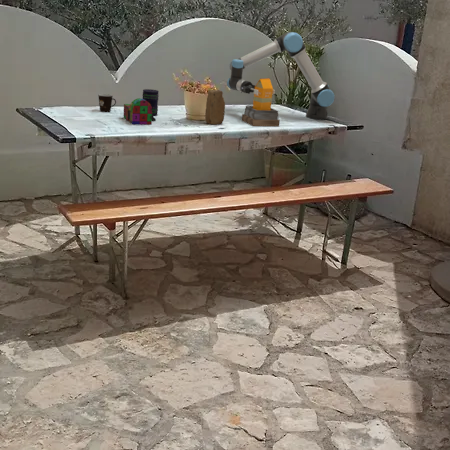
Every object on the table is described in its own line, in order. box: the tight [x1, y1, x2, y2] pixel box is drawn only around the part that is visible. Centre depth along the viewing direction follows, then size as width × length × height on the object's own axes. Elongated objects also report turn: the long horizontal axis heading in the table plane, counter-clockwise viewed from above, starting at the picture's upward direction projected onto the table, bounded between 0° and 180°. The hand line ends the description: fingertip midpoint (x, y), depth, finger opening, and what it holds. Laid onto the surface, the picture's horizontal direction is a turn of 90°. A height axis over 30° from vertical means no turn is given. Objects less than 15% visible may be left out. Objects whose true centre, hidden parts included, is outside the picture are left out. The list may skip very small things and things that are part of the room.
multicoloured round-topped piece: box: [123, 97, 156, 126], centre depth 353 cm, size 25×17×14 cm
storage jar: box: [142, 88, 160, 117], centre depth 371 cm, size 10×10×15 cm
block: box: [204, 89, 226, 125], centre depth 362 cm, size 11×8×20 cm
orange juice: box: [252, 77, 274, 111], centre depth 373 cm, size 8×9×20 cm
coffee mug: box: [98, 93, 117, 113], centre depth 368 cm, size 12×9×10 cm
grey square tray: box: [241, 105, 281, 127], centre depth 378 cm, size 18×18×10 cm
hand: (266, 92), depth 371 cm, fingers open, 13 cm apart
